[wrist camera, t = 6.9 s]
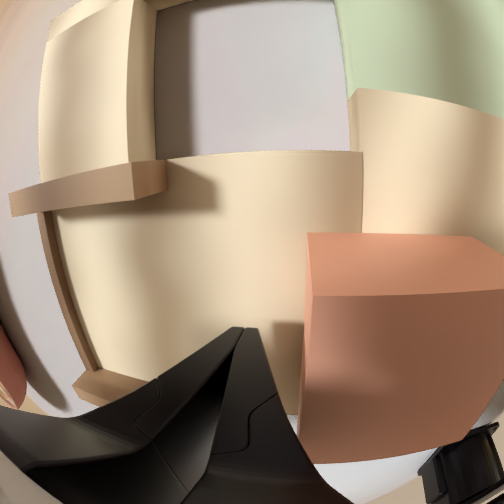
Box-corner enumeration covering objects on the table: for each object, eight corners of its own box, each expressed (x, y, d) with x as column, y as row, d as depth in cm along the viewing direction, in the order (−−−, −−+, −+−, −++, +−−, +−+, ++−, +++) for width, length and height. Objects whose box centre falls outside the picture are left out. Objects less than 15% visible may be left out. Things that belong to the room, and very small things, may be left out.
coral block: (471, 236, 7) (544, 284, 3) (433, 370, 9) (461, 439, 5) (307, 232, 8) (312, 295, 4) (300, 379, 10) (294, 463, 6)
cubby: (166, 159, 8) (131, 162, 6) (205, 405, 12) (193, 436, 10) (41, 185, 9) (8, 193, 8) (96, 376, 13) (79, 398, 11)
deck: (491, 12, 4) (510, 1, 2) (470, 371, 11) (482, 393, 9) (74, 29, 8) (51, 21, 6) (113, 357, 15) (96, 376, 13)
